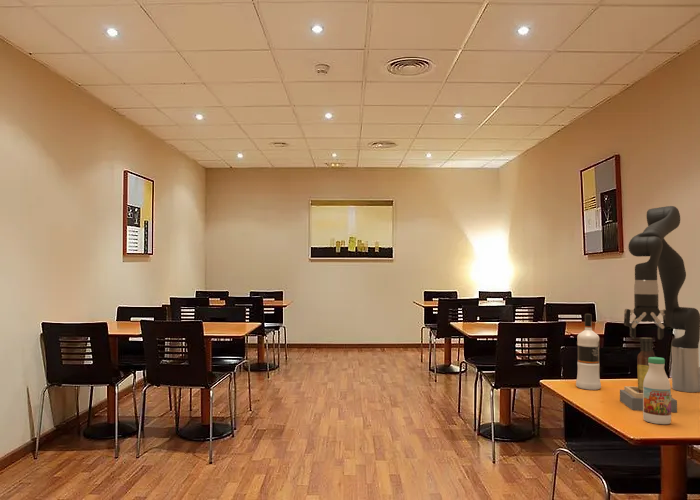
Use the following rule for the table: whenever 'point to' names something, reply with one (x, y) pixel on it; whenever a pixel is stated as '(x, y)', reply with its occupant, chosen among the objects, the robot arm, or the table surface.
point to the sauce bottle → (644, 360)
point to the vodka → (588, 358)
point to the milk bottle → (656, 393)
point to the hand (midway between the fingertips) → (646, 338)
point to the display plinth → (638, 399)
